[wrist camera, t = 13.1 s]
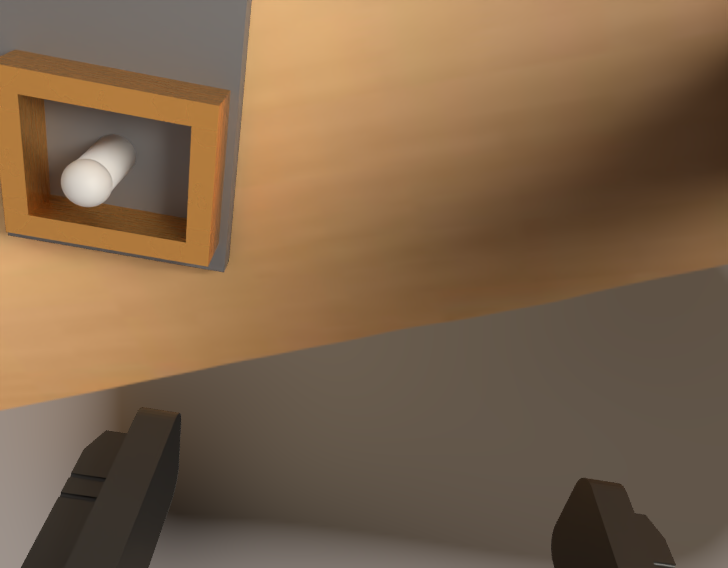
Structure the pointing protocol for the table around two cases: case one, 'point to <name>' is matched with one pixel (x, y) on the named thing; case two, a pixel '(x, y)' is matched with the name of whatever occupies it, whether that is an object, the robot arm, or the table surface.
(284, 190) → the table surface
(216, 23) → the plate
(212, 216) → the link ring
